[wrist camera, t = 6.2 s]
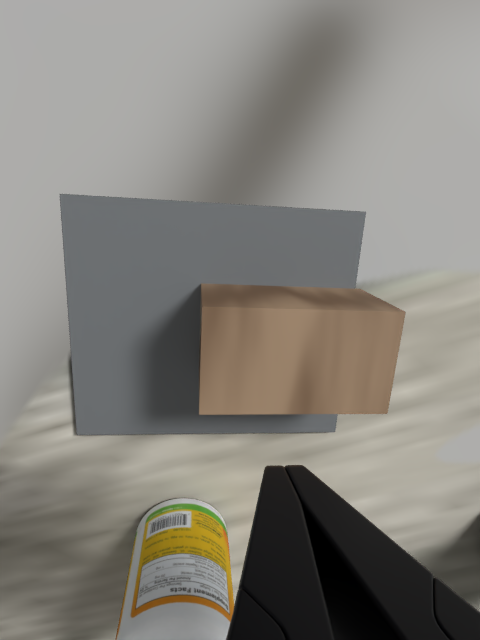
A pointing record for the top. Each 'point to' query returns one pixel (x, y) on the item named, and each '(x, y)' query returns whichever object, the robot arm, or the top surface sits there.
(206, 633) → the supplement bottle
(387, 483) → the top surface
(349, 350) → the walnut block
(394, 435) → the top surface
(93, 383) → the gray flat panel
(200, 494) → the top surface
